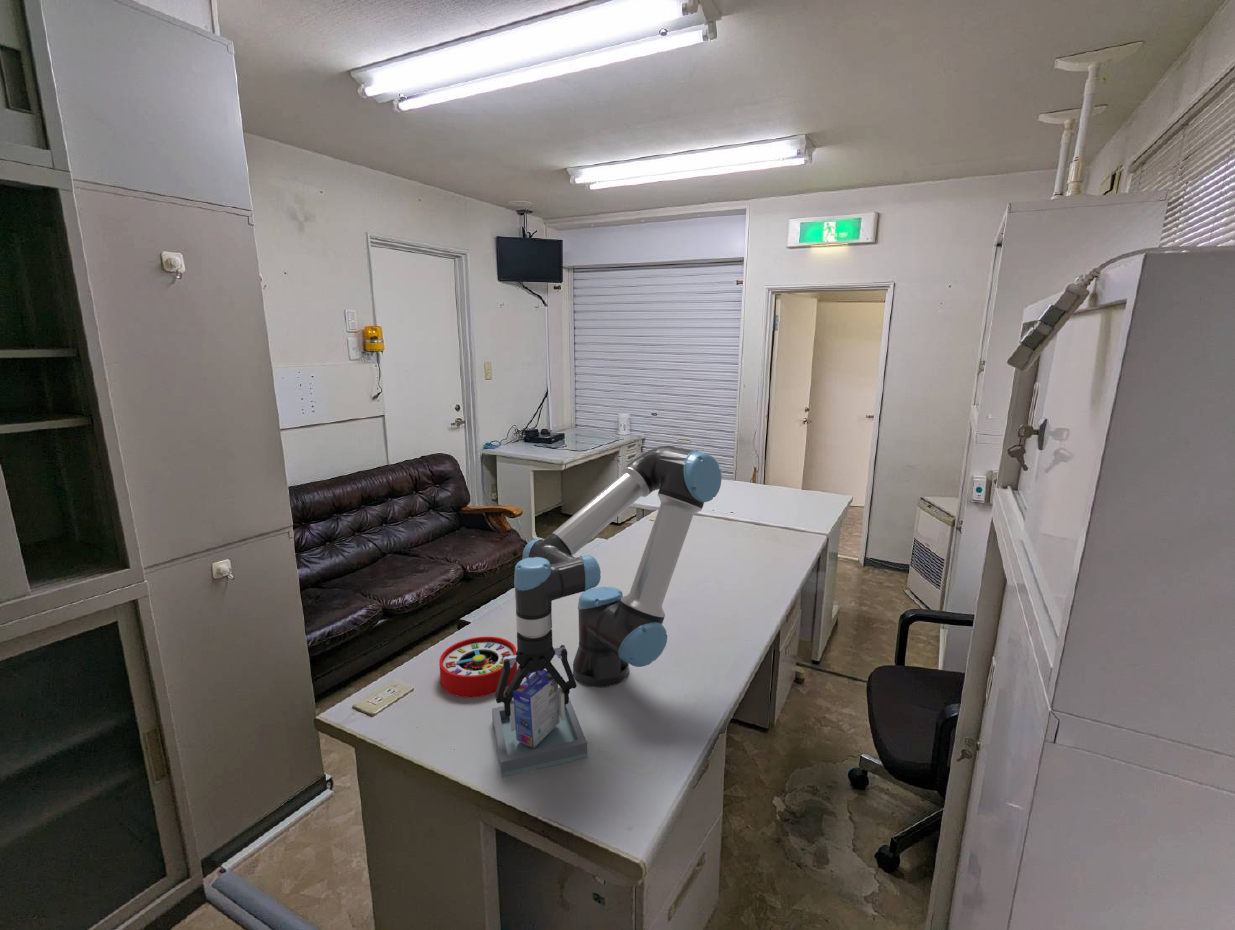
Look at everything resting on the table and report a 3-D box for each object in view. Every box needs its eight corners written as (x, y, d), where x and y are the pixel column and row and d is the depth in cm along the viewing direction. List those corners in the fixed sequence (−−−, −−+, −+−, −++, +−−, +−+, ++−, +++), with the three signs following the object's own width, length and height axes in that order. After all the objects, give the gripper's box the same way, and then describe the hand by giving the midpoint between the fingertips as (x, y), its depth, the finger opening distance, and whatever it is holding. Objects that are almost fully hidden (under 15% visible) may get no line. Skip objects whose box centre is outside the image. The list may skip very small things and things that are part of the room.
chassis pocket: (567, 706, 133) (567, 693, 132) (587, 757, 116) (587, 742, 116) (492, 721, 127) (491, 708, 127) (501, 777, 111) (501, 762, 110)
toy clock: (523, 667, 140) (442, 684, 133) (524, 687, 141) (443, 705, 134) (508, 631, 158) (436, 644, 151) (509, 649, 159) (437, 663, 152)
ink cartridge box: (541, 714, 127) (539, 658, 124) (560, 722, 124) (559, 664, 122) (513, 740, 119) (511, 680, 116) (533, 749, 116) (531, 688, 113)
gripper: (581, 614, 124) (583, 701, 128) (478, 630, 117) (483, 721, 121) (590, 629, 117) (591, 721, 121) (481, 647, 110) (486, 744, 114)
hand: (537, 721), depth 121 cm, fingers closed on ink cartridge box, 10 cm apart
